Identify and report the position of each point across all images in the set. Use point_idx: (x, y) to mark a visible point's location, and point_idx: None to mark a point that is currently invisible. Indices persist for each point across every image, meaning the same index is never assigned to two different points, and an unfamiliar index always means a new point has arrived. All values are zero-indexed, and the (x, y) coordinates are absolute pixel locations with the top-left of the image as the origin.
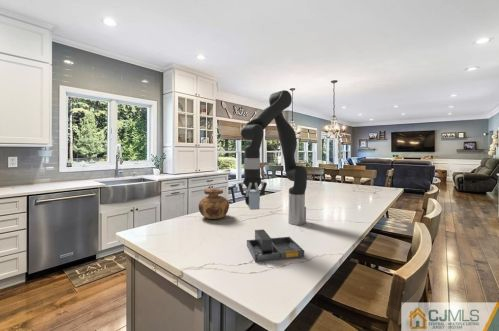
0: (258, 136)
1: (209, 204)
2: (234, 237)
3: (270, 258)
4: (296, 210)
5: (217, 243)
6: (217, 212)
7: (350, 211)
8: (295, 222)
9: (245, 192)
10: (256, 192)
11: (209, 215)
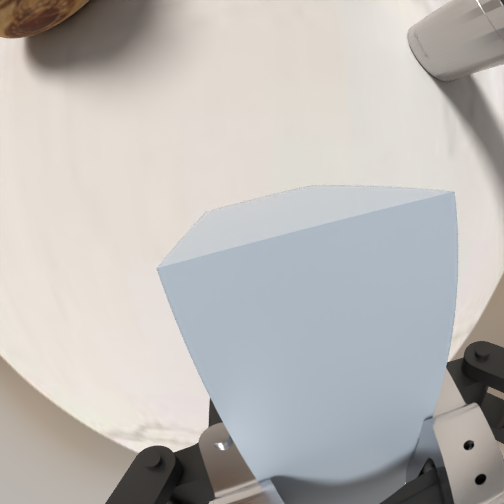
0: None
1: (3, 16)
2: (163, 232)
3: None
4: (477, 62)
5: (111, 306)
6: (53, 14)
7: None
8: (439, 73)
9: (208, 474)
10: (393, 483)
11: (31, 34)
